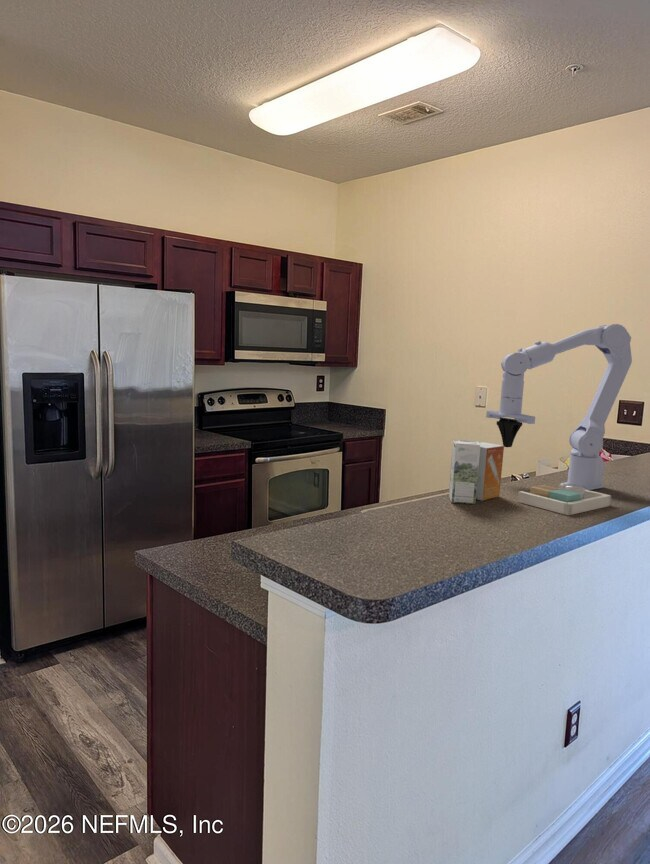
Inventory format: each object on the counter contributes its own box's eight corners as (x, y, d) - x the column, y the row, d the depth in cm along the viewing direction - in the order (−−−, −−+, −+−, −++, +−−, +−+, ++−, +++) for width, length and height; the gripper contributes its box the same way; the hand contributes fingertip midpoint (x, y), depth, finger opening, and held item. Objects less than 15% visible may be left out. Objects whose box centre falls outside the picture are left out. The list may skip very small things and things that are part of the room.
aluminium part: (569, 498, 153) (570, 482, 153) (587, 503, 149) (589, 487, 149) (557, 500, 150) (559, 485, 150) (576, 505, 146) (577, 489, 146)
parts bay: (560, 493, 158) (561, 484, 157) (610, 505, 147) (611, 495, 147) (517, 501, 147) (518, 491, 147) (568, 515, 136) (569, 504, 136)
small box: (482, 501, 146) (487, 447, 144) (460, 496, 151) (464, 444, 149) (500, 496, 152) (504, 445, 150) (478, 491, 156) (482, 441, 154)
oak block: (540, 500, 150) (542, 484, 149) (559, 505, 146) (560, 489, 145) (528, 503, 147) (530, 486, 146) (547, 508, 143) (548, 491, 142)
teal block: (560, 505, 146) (562, 489, 146) (579, 510, 142) (581, 493, 142) (547, 507, 143) (549, 491, 143) (567, 513, 139) (568, 496, 139)
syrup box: (472, 498, 148) (476, 439, 146) (475, 505, 142) (480, 443, 140) (448, 497, 149) (452, 438, 147) (451, 503, 143) (455, 442, 141)
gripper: (480, 395, 169) (477, 443, 171) (525, 400, 158) (520, 452, 160) (496, 395, 173) (493, 442, 175) (541, 399, 162) (536, 450, 164)
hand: (507, 446), depth 168 cm, fingers closed
